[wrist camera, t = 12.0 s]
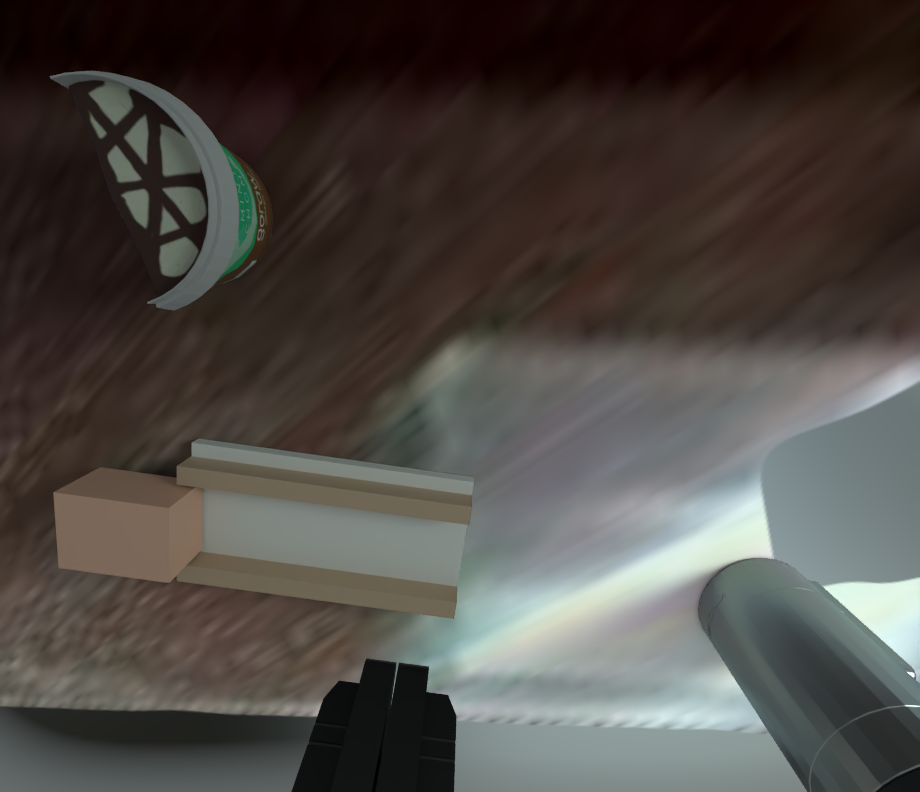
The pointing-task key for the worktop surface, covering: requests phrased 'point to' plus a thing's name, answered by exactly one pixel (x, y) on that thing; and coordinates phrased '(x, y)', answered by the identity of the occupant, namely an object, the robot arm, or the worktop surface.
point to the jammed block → (128, 524)
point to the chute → (328, 528)
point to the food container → (173, 186)
